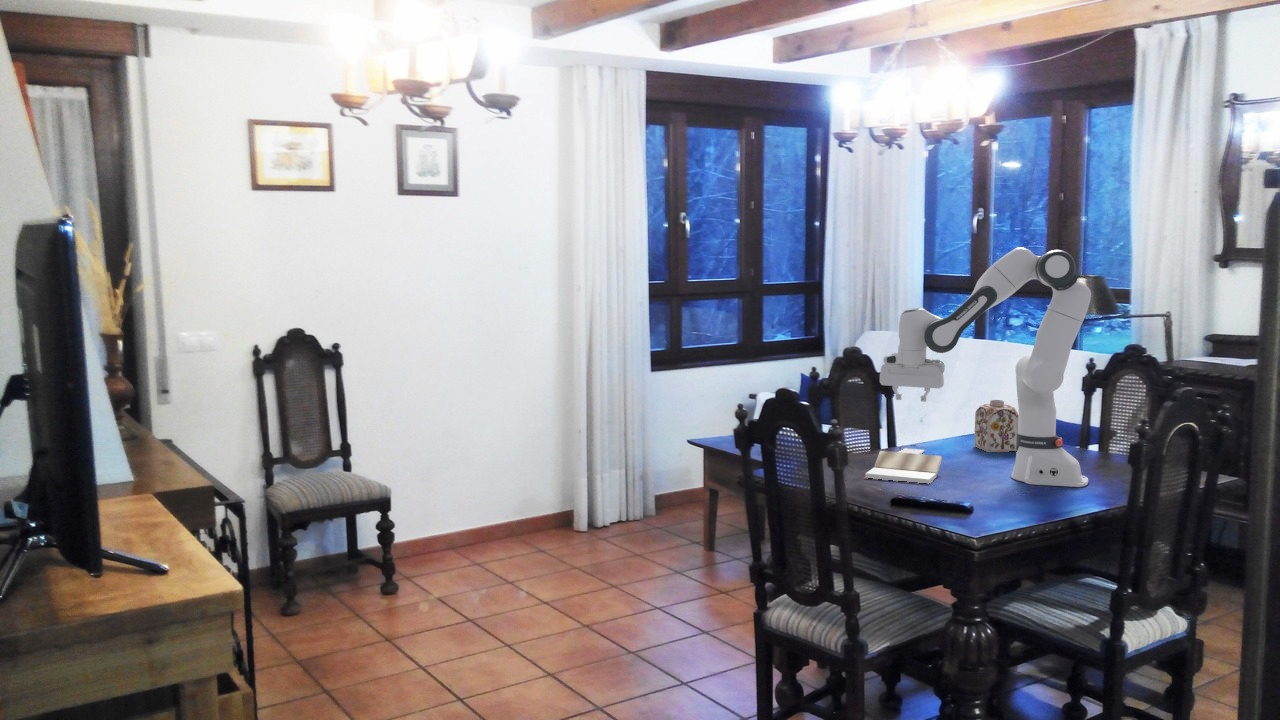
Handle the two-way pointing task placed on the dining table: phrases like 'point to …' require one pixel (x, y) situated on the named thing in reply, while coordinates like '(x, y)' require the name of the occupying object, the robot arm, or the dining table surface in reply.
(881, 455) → the birch plank
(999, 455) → the dining table surface
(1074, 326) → the robot arm
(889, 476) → the white board
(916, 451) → the baseboard
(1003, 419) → the decorative jar
